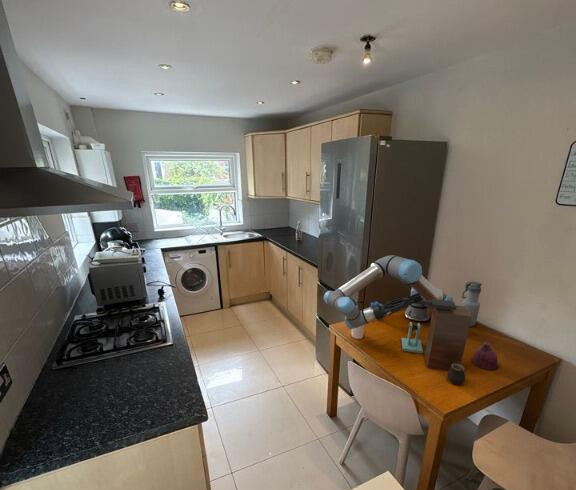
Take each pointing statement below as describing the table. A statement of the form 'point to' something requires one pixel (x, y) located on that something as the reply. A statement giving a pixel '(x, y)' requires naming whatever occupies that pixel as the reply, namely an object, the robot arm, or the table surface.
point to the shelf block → (447, 337)
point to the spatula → (437, 303)
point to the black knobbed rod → (414, 327)
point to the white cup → (358, 332)
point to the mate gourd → (456, 374)
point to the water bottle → (472, 300)
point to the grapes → (376, 304)
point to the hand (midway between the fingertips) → (420, 296)
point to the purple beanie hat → (485, 357)
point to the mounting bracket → (412, 341)
